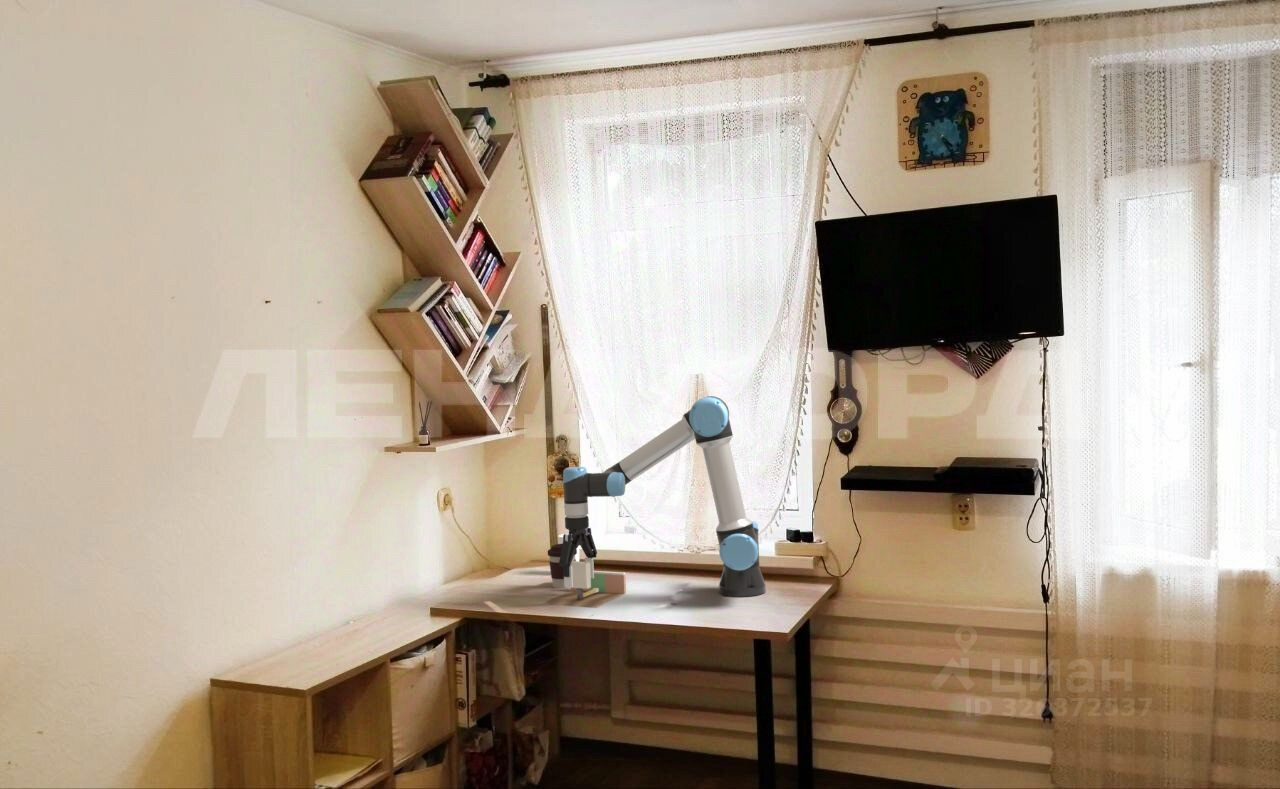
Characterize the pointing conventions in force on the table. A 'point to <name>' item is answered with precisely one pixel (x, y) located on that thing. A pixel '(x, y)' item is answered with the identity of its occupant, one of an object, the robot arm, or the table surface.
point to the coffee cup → (557, 566)
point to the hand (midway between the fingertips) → (579, 582)
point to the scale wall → (608, 582)
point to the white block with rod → (582, 578)
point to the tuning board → (588, 601)
